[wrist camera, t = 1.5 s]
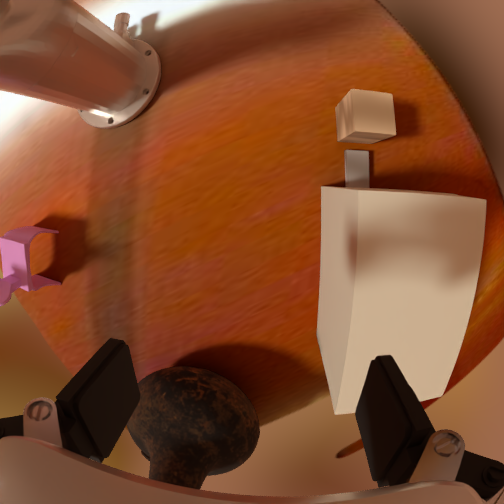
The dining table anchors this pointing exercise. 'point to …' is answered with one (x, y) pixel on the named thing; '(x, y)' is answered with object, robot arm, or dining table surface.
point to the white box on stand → (395, 285)
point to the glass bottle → (192, 425)
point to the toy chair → (20, 262)
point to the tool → (363, 129)
